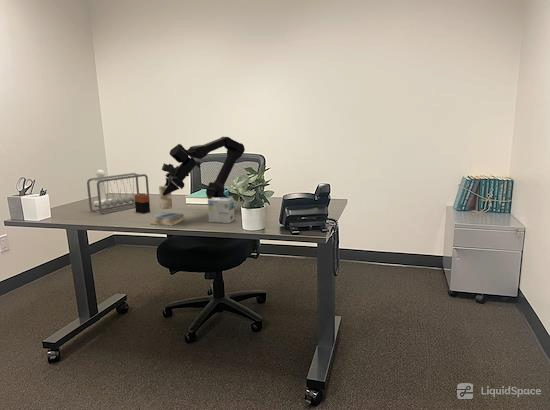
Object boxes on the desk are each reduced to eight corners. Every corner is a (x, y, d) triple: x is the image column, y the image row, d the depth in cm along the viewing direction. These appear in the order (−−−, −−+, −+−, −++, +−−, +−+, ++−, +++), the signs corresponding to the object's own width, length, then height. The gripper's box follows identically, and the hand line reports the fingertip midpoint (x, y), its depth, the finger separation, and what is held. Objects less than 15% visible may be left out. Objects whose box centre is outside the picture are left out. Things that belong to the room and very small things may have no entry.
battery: (143, 213, 209) (141, 194, 207) (135, 212, 213) (133, 193, 211) (150, 212, 213) (149, 193, 211) (142, 210, 217) (140, 192, 214)
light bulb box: (234, 219, 194) (234, 197, 192) (230, 223, 187) (229, 200, 185) (213, 218, 196) (212, 196, 194) (208, 222, 190) (207, 199, 188)
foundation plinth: (183, 220, 195) (183, 213, 194) (171, 225, 184) (171, 218, 184) (163, 218, 198) (163, 212, 197) (150, 224, 187) (149, 217, 187)
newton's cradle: (139, 202, 237) (136, 172, 234) (150, 205, 231) (147, 173, 227) (89, 212, 214) (86, 178, 210) (100, 215, 208) (97, 180, 204)
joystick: (110, 202, 240) (106, 168, 236) (117, 203, 236) (114, 169, 232) (92, 205, 231) (88, 170, 227) (99, 207, 227) (96, 171, 223)
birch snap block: (170, 206, 193) (169, 185, 191) (172, 208, 189) (170, 187, 186) (160, 207, 191) (159, 186, 189) (162, 209, 187) (160, 187, 185)
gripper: (168, 155, 195) (146, 180, 193) (175, 158, 178) (151, 185, 176) (186, 170, 199) (164, 195, 198) (194, 175, 183) (170, 202, 181)
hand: (162, 194), depth 188 cm, fingers closed on birch snap block, 5 cm apart
